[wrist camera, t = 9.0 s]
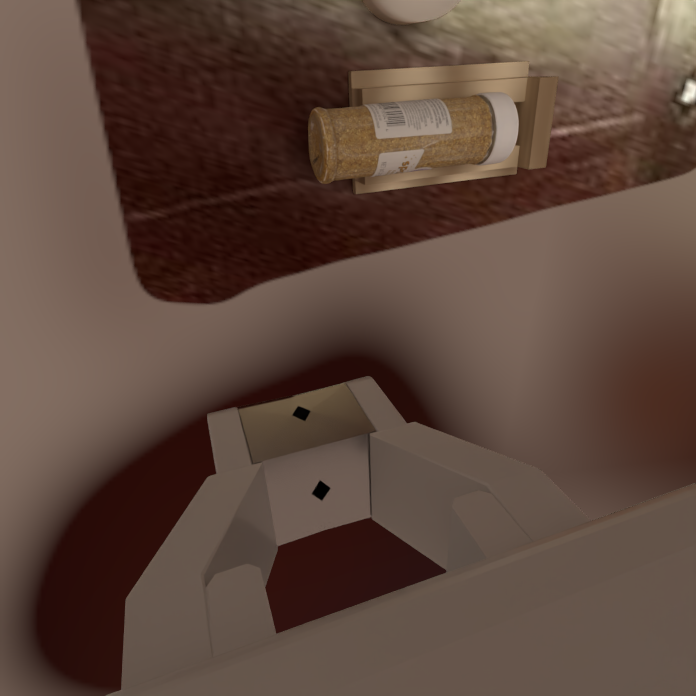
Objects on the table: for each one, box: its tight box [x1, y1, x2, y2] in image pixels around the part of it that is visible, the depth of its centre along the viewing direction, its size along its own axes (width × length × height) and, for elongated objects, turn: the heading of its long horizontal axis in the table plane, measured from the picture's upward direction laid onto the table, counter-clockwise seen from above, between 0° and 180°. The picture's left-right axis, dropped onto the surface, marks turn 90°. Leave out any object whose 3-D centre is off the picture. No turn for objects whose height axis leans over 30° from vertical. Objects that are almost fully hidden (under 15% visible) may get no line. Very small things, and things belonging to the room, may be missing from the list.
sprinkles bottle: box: [308, 92, 519, 184], centre depth 33 cm, size 5×5×13 cm
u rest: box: [348, 61, 558, 194], centre depth 36 cm, size 14×8×4 cm, turn 93°
